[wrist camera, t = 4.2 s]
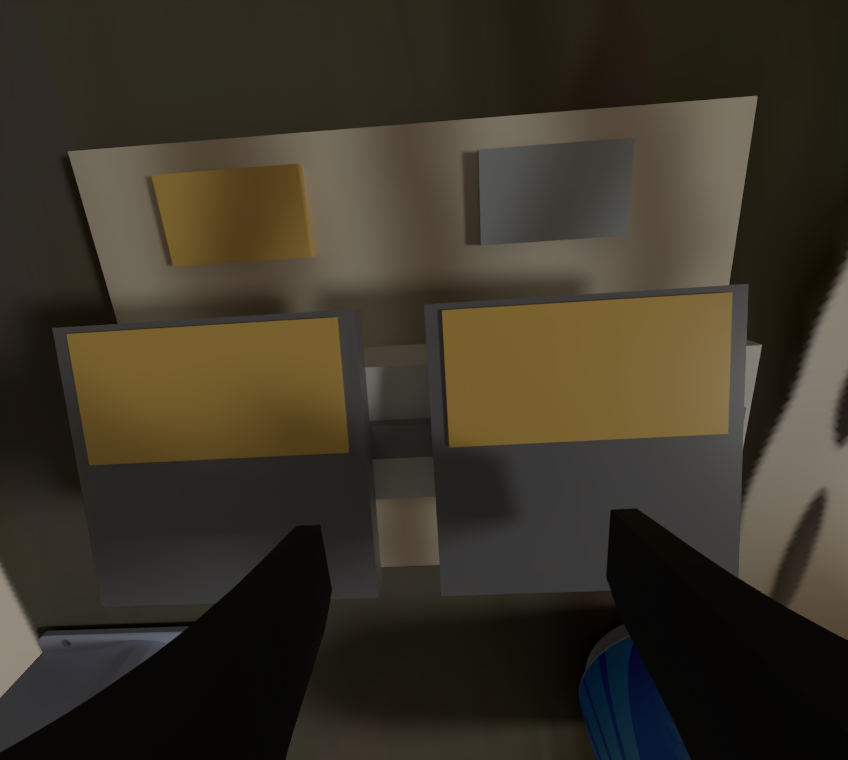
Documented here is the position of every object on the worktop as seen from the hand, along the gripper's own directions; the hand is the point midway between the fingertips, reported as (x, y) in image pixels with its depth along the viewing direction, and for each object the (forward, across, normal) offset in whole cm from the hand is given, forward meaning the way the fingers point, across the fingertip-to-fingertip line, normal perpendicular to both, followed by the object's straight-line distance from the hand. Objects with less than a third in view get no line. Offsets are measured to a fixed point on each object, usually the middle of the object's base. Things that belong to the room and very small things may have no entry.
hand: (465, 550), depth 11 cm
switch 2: (+4, -4, -1) cm, 5 cm away
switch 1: (+4, +7, -1) cm, 8 cm away
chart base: (+8, +1, -2) cm, 9 cm away
